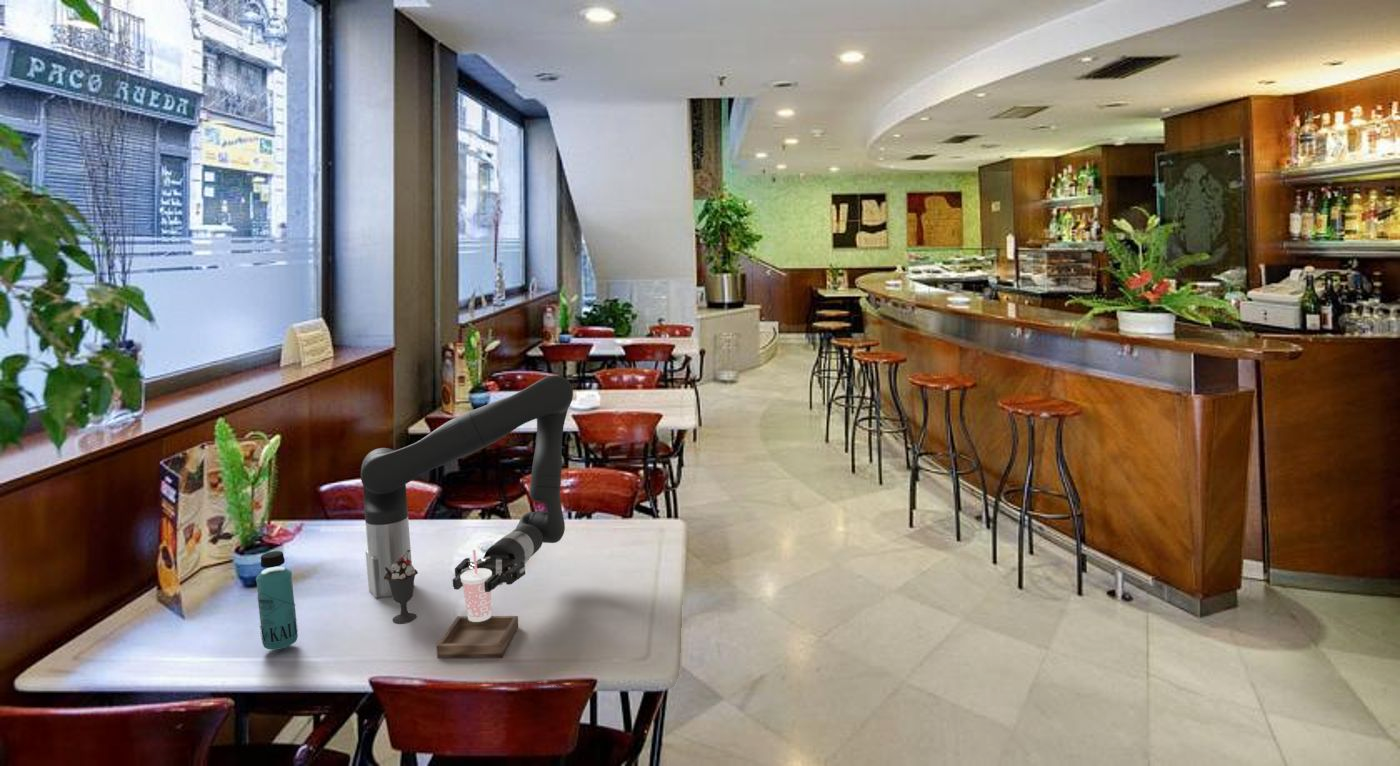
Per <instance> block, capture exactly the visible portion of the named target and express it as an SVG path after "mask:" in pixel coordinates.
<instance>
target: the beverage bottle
mask: <svg viewBox="0 0 1400 766" xmlns="http://www.w3.org/2000/svg"><path fill="white" fill-rule="evenodd" d="M283 564H285V556H284V552H283V551H279V550H275V551H267V552H265V553H263V554H261V556H260V566H261V568H263V570H262V571H260V573H258V575H257V576H256V577H255V581H256V588H257V603H258V613H259V614H258V615H259V616H258V617H259V621H260V622H259V624H260V625H259V628H260V633H261V634H260V638H261V642H262V643H261V644H262V645H263V648H264V649H267V650H279V649H284V648H287V647H289V646H292V645H293V644H295V643H296V642H297V641H298V637H299V634H298V629H299V628H298V623H297V620H298V619H297V614H296V613H297V612H296V603H295V597H294V586H293V572H292V571H291V570H290V569H288V568H286V567H285V566H281V565H283ZM264 568H265V569H264Z"/></svg>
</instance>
